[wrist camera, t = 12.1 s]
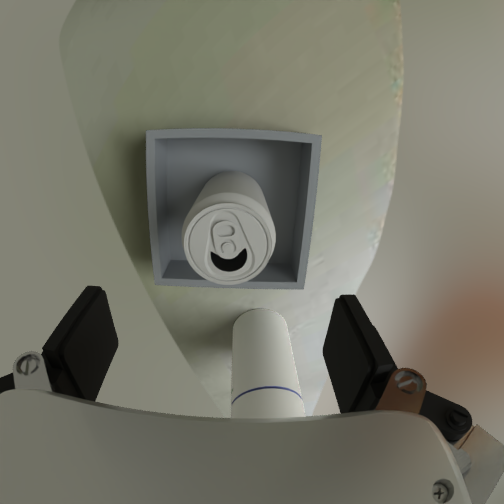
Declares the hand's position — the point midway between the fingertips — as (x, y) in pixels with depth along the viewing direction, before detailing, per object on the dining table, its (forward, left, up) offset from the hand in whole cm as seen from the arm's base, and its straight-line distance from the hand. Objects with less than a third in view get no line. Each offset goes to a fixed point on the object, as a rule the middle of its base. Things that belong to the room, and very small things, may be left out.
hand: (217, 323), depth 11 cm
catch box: (0, 0, -21) cm, 21 cm away
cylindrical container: (+17, +4, -21) cm, 27 cm away
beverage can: (0, 0, -20) cm, 20 cm away
